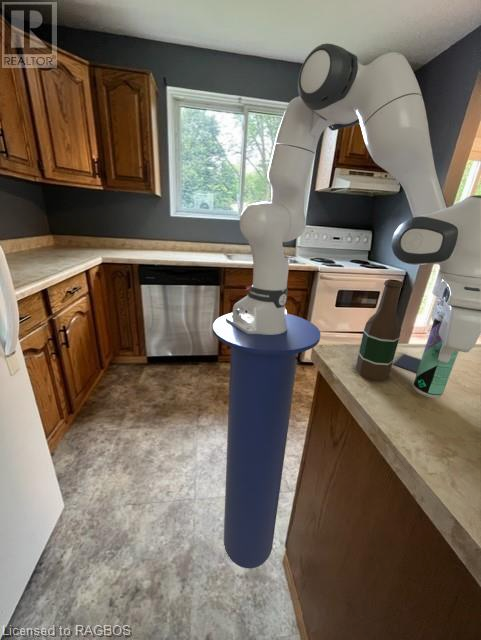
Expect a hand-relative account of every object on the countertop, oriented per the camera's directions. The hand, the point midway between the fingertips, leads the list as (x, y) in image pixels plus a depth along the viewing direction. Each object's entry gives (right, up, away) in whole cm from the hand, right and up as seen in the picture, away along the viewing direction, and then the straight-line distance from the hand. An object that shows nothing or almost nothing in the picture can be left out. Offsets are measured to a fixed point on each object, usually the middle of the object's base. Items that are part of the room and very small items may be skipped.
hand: (439, 353), depth 56 cm
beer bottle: (-8, -7, +13) cm, 17 cm away
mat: (+7, -6, +17) cm, 19 cm away
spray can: (0, -9, +3) cm, 9 cm away
